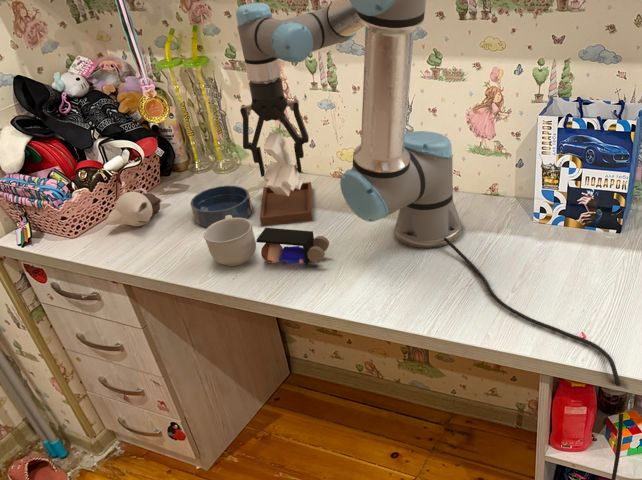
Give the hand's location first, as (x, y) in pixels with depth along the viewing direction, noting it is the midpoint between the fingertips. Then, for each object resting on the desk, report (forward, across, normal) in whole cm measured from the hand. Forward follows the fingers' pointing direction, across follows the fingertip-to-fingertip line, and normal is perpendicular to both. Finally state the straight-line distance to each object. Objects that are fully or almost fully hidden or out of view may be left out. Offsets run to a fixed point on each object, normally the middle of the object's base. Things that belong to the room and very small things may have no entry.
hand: (281, 172), depth 173 cm
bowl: (+10, +16, 0) cm, 19 cm away
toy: (+10, +38, -1) cm, 40 cm away
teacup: (+10, +11, +22) cm, 27 cm away
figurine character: (+10, -3, +28) cm, 30 cm away
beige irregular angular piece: (+6, 0, 0) cm, 6 cm away
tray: (+10, 0, 0) cm, 10 cm away
